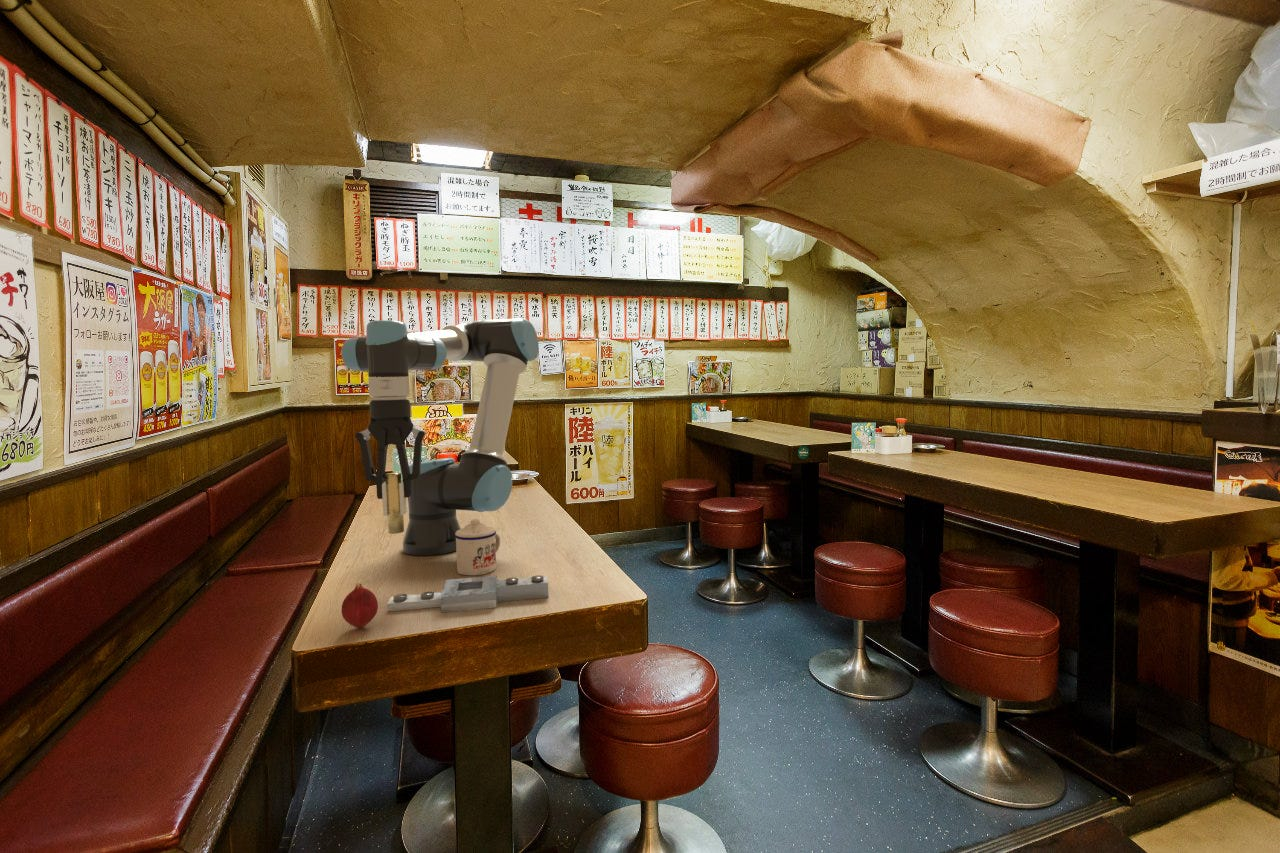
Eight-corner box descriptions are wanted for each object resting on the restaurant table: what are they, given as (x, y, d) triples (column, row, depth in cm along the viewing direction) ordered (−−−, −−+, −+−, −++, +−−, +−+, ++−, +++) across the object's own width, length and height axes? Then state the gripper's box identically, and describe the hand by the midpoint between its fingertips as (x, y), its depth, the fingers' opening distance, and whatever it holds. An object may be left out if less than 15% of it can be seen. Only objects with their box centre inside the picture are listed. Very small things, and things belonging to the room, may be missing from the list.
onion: (384, 627, 104) (382, 582, 104) (351, 638, 100) (348, 591, 100) (370, 618, 108) (368, 576, 108) (337, 628, 104) (334, 584, 103)
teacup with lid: (476, 578, 130) (474, 526, 129) (447, 572, 135) (445, 522, 134) (514, 564, 140) (512, 515, 139) (486, 558, 145) (484, 511, 144)
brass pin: (389, 530, 123) (386, 473, 122) (405, 529, 123) (402, 472, 122) (386, 534, 120) (383, 475, 119) (402, 533, 120) (399, 474, 120)
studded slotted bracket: (394, 598, 119) (393, 580, 118) (546, 585, 125) (546, 569, 125) (384, 617, 109) (383, 598, 108) (549, 602, 115) (548, 584, 115)
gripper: (342, 400, 114) (348, 520, 116) (428, 398, 117) (432, 515, 119) (352, 399, 122) (358, 512, 123) (432, 397, 125) (437, 507, 127)
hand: (395, 513), depth 121 cm, fingers closed on brass pin, 2 cm apart
